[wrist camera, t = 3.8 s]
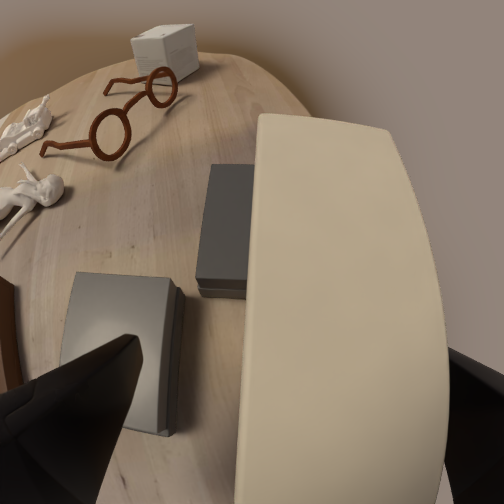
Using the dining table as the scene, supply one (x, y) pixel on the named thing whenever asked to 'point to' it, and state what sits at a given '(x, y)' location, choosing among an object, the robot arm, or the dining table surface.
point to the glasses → (120, 114)
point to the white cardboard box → (166, 51)
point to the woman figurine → (29, 196)
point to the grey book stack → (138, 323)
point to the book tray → (8, 340)
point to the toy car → (25, 130)
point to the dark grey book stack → (226, 232)
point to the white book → (339, 324)
